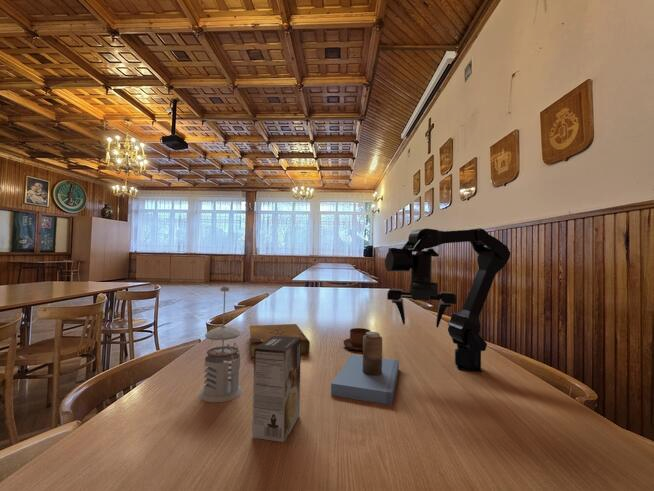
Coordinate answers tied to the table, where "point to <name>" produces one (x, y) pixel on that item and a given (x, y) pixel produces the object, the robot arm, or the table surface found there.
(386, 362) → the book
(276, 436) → the coffee box
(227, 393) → the french press
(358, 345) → the cup and saucer
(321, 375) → the table surface
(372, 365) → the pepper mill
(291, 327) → the diary
